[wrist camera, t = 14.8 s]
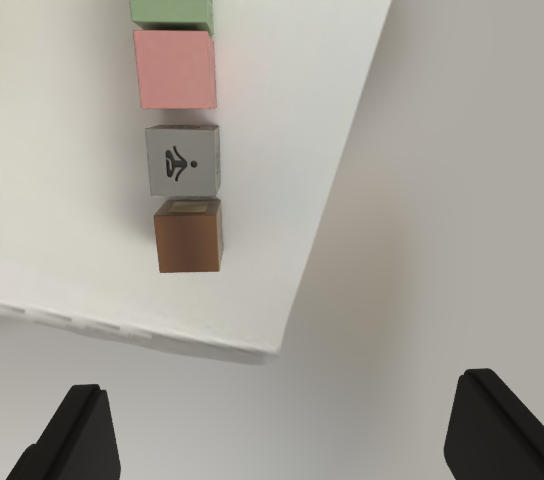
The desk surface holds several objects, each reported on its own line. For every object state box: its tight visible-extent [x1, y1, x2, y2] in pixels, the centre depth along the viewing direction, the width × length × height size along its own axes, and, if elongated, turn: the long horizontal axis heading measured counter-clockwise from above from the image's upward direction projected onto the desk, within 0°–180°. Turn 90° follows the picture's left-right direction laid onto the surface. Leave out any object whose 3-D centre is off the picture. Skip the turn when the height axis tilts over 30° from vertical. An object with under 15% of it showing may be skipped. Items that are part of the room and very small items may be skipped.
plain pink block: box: [133, 30, 217, 109], centre depth 28 cm, size 5×5×5 cm
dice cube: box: [145, 125, 220, 197], centre depth 31 cm, size 5×5×5 cm
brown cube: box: [154, 200, 223, 273], centre depth 33 cm, size 5×5×5 cm
